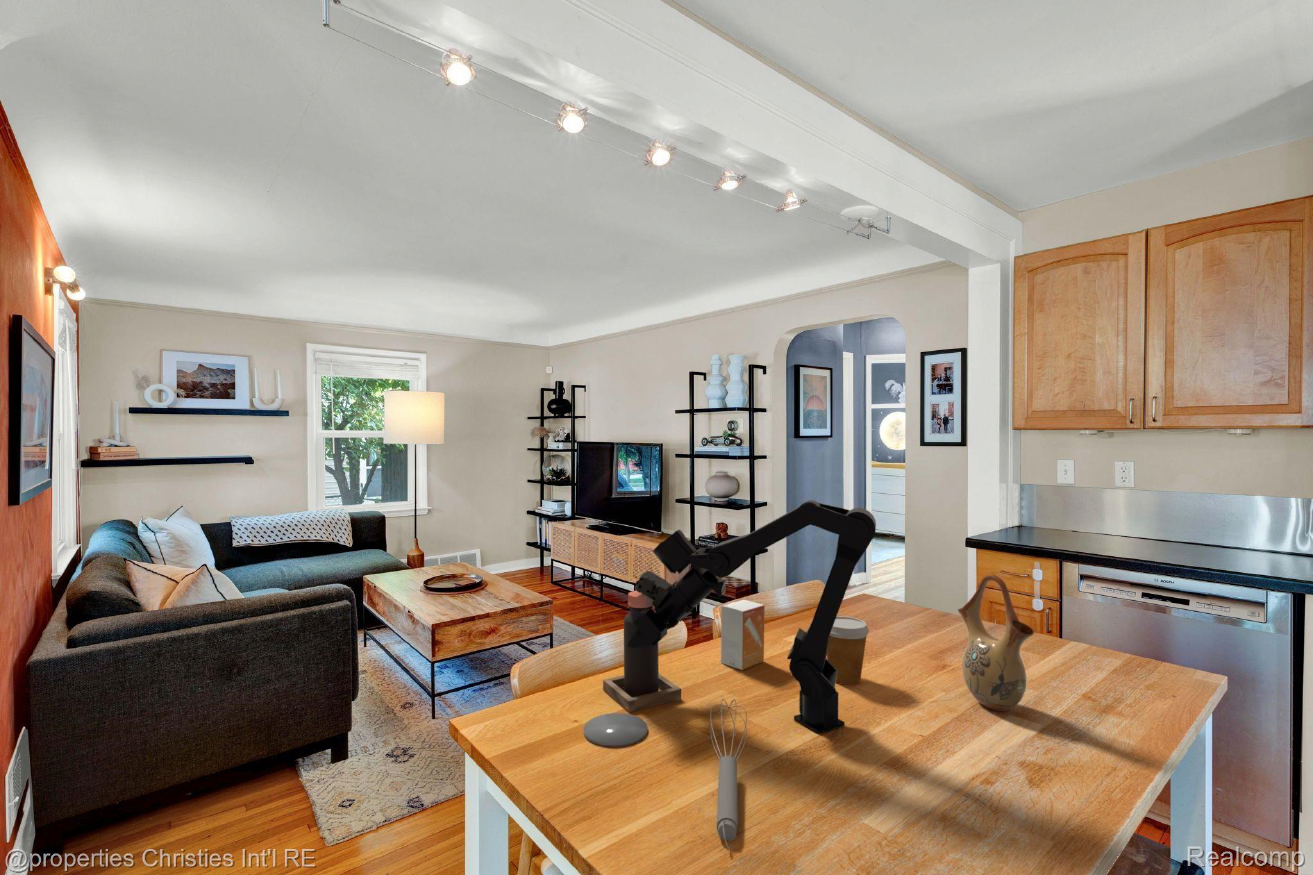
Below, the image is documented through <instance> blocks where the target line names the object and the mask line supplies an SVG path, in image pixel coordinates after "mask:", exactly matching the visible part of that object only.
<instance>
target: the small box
mask: <svg viewBox="0 0 1313 875" xmlns="http://www.w3.org/2000/svg"><path fill="white" fill-rule="evenodd" d="M765 607H766V606H765V604H762V603H758V602H754V601H751V600H747V599H741V600H737V601H733V602H729V603H728V604H724V605H721V611H720V612H721V619H720V620H721V626H720V627H721V628H720V630H721V631H720V640H721V641H720V647H721V648H720V663H721V664H723V665H726V666H729V667H732V668H734V669H737V670H741V671H744V670H745V669H748V668H750V667H753V666H756V665H758V664H760V663H763V662H765Z"/></svg>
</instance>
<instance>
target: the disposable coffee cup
mask: <svg viewBox="0 0 1313 875" xmlns="http://www.w3.org/2000/svg"><path fill="white" fill-rule="evenodd" d="M869 633H870V630H869V628H868V625H867V622H866V621H864V620H862V619H859V618H856V617H851V616H842V615H841V616H838V615H837V616H836V619H835V622H834V624H833V627H832V630H831V633H830V637H829V644H828V650H827V656H826V659H827V660H828V661H829V662H830V663H831V664H832V665H833V666H834V667H835V668H836V670H837V671H838V673H837V678H836V683H837V684H839V685H847V686H849V685H851V686H853V685H858V684H859V683H860V682H861V678H862V672H863V666H864V665H863V664H864V657H865V650H866V642H867V637H868V634H869Z"/></svg>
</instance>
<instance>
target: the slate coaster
mask: <svg viewBox="0 0 1313 875" xmlns="http://www.w3.org/2000/svg"><path fill="white" fill-rule="evenodd" d="M647 734H648V724H647V722H646V721H645V720H644V719H643V718H641V717H639V716H637V715H634V714H630V713H624V712H612V713H611V712H610V713H605V714H600V715H596V716H595V717H594V716H593V718H591V719H589V720H587V721H586V723H585V724H584V727H583V736H584V738H586V740H588V741H589V742H590V743H592V744H595V745H597V746H601V747H607V748H619V747H627V746H630V745H634V744H636V743H638V742H641V741H642V740H643V739H644V738H645V737H646V736H647Z"/></svg>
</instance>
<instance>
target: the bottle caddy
mask: <svg viewBox="0 0 1313 875" xmlns="http://www.w3.org/2000/svg"><path fill="white" fill-rule="evenodd" d="M602 690H603V692H605V693H606V694H607V695H608V696H610V697H611V698H612V699H613V700H614V701H615V702H617V703H618V704H619V705H620V706H621V707H622V708H623V709H625V710H626V711H627V712H628V713H631V712H634V711H635V712H636V711H639V710H643V709H648V708H651V707H654V706H659V705H663V704H667V703H668V704H669V703H671V702H676V701H680V700H682V688H680V687H679V686H678V685H676V684H675V683H673V682H672V681H670V680H669V679H667V677H665V676H663V675H662V674H660V673H659V691H658V692H653V693H649V694H645V695H641V696H636V697H630V696H629V695H628V694H627V693H626V692H624V675H621V676H615V677H610V678H606V679H603V680H602Z"/></svg>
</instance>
